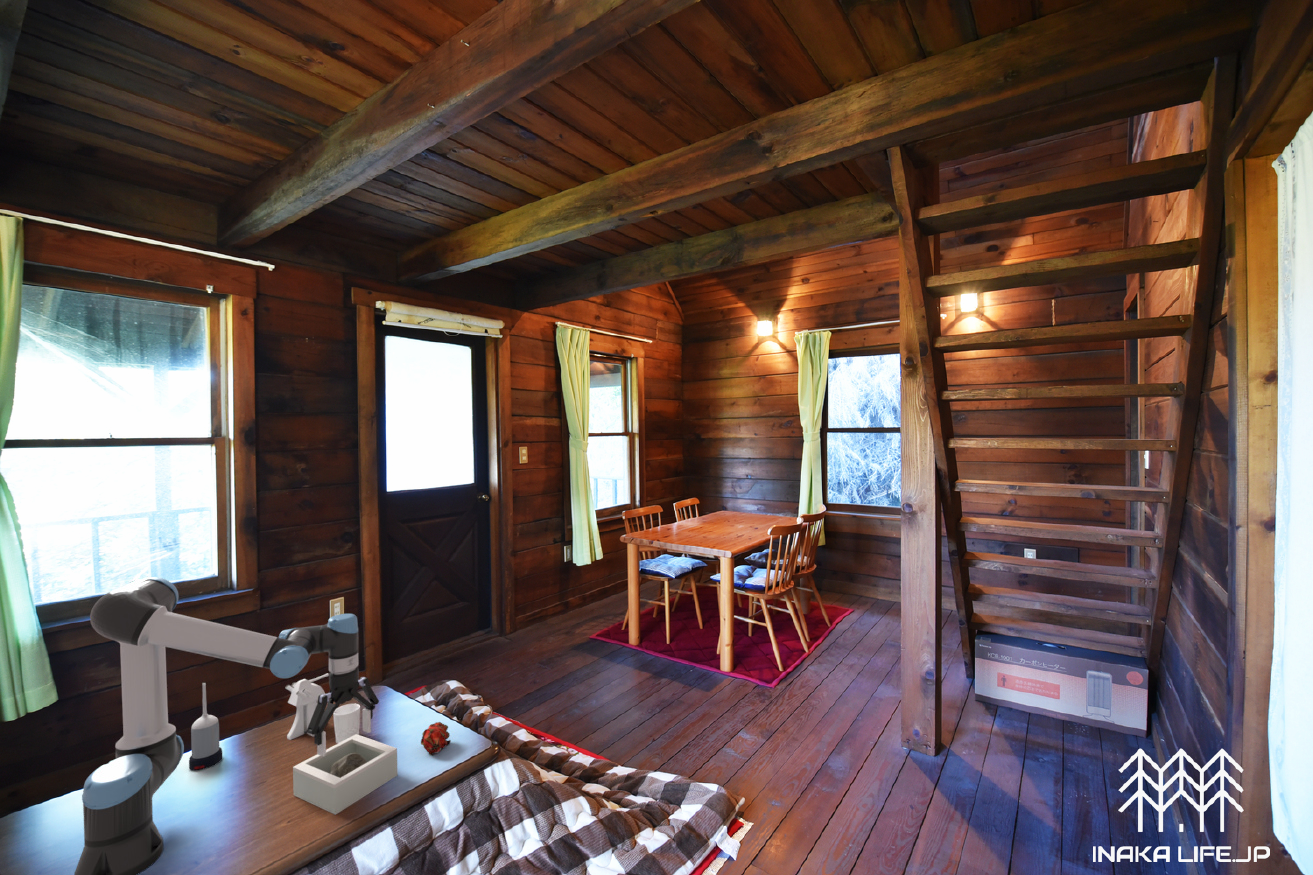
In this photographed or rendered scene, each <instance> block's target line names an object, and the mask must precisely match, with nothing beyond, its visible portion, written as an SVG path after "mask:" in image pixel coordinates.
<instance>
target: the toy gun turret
mask: <svg viewBox="0 0 1313 875" xmlns="http://www.w3.org/2000/svg"><path fill="white" fill-rule="evenodd" d="M325 677H329V673H325V674H323V675H321V676H317V677H316V678H315V677H314V678H312V679H306V678H303V679H300V680H298V681H297V682H292V684H291V685H290V684H287V685H286V686H285V689H286V690H288V691H289V692H290V693H291V694H290V697H289V699H288V701H287V703H288V704H290V705H292V706H295V707H296V713H295V718H294V721H293V723H292V725H291V728H290V730H289V731H288V733H287V735H286V738H287V740H290V741H291V740H293V739H296V738H298V737H301V736H303V735H305V734H307V735H308V736H310V737H314V735H312V734H310V733H307V728H308V726H309V723H310V721H311V718H312V716H313V713H314V711H315V708H316V706H317V703H318V696H319V695H320V694H323V695H324V694H326V693H325V690H324V688H323V687H322V686H321V685H318V684H316V683H314V682H315V681H318V680H320V679H324V678H325Z"/></svg>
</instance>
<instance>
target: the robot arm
mask: <svg viewBox="0 0 1313 875" xmlns="http://www.w3.org/2000/svg"><path fill="white" fill-rule="evenodd" d="M178 603H179V591H178V589H177V587H176V585H175V584H173V583H172V582H171V581H169V580H167V579H165V578H162V577H157V576H155V577H153V576H151V577H150V576H149V577H148V576H147V577H143V578H139V579H135V580H133V581H130V582H128V583H127V584H126V585H123V586H121V587H119V588H116V589H114V590H111V591H109V592H107V593H106V594H104V595H103V596H102V597H100V598H99V599H98V600H97V601H96V602H95V604H94V605H93V607H92V609H91V611H90V616H89V619H90V624H91V627H92V628H93V630H94V631H95V632H96V633H97V634H99V635H100V636H102V637H104V638H106V639H109V640H112V641H115V642H117V643H119V645H120V647H119V648H120V674H121V676H120V677H121V678H120V679H121V702H122V707H121V708H122V725H123V726H122V728H123V730H122V731H123V733H122V734H123V735H122V736H121V737H120V739H119V740H117V741H116V742H115V746H114V747H115V759H113V760H110V761H109V762H108V763H106V764H103V765H100V766H99V767H98V768H96V769H95V770H94V771H93V772H92V773H91V774H89V776H88V777H87V778H86V780H85V781H84V785H83V791H82V795H81V800H82V806H83V807H82V808H83V809H82V810H83V812H82V813H83V837H84V844H83V845H84V846H83V850H82V852H81V853H80V857H79V860H78V862H77V865H76V867H75V871H74V874H73V875H137V874H138V873H139V874H141V873H142V872H144V871H146V870H147V869H148V868H149V866H150V867H151V866H152V865H153V864H154V863H156V861H158V859H159V858H160V857H161V855H162V854H163V851H164V840H163V837H162V835H161V833H160V831H159V830H158V828H157V826H156V824H155V821H154V818H153V816H154V815H153V797H154V795H155V793H156V792H157V791H158V790H159V789H160V787H161V786H162V785H163V784H164V783H165V782H166V780H167V779H168V778H169V777H170V776H171V775H172V774H173V773H174V772H175V770H177V768H178V766H179V764H180V763H181V762H180V761H181V760H182V757H183V755H184V752H185V745H184V741H183V739H182V736H180V735H177V728H176V726H175V725H174V724H172V723H169V714H168V713H169V709H168V688H167V687H168V684H167V682H168V681H167V657H166V656H167V654H166V648H171V649H174V650H179V651H184V652H189V653H193V654H199V655H202V656H207V657H213V658H217V659H221V660H226V661H230V662H236V663H240V664H246V665H250V666H255V667H258V668H264V669H267V670H268V669H269V670H270V671H271V673H272V674H273V676H275V677H277V678H279V679H289V678H292V677H294V676H296V675H298V674H299V673H300V672H301V671H302V670H303V669H304V667H305V666H306V665H307V664H308V661H309V659H310V657H311V656H312V655H314V654H321V653H326V652H327V653H328V671H329V673H328V674H329V676H328V686H329V692H328V693H327V692H326V693H325V694H324V695H323V694H320V695H319V696H318V700H317V706H316V708H315V711H314V713H313V716H312V718H311V721H310V723H309V726H308V728H307V733H310V734H312V735H314V739H313V740H314V745H316V748H317V749H316V751H317V752H316V755H317V754H318V755H321V756H325V755H326V750H327V739H326V736H327V733H326V731H324V730H325V728H326V726H327V725H328V723H329V722H330V720H331V718H332V717H333V713H334V711H335V710H336V709H337V708H338V707H340V705H343V704H345V703H347V702H349V701H353V700H352V699H354V700H355V701H356V702H358V704H359V705H360V704H361V705H362V706H363V707H364V708H362V709H361V710H362V712H361V713H362V731H363V732H364V733H368V734H369V733H371V732H372V722H371V720H372V719H373V715H374V714H373V713H374V712H373V710H375V709H376V705H379V703H380V700H379V699H378V697H377V696H376V694H375V692H374V691H373V689H372V686H371V685H370V681H369V680H370V679H369V678H368V677H365V676H361V677H360V671H359V670H360V669H359V626H358V625H359V624H358V616H356V615H355V614H354V613H340V614H336V615H332V616H331V617H329V619H328V620H327V621H328V622H327V623H325V624H322V625H321V624H320V625H311V626H305V627H304V626H303V627H293V628H289V629H284V630H282V631H281V632H280V633H279V636H278V637H277V636H275V635H274V636H273V635H270V634H269V635H268V634H264V633H260V632H256V631H254V630H253V631H252V630H249V629H244V628H239V627H235V626H232V625H231V626H230V625H226V624H223V623H219V622H215V621H214V622H213V621H209V620H207V619H206V620H205V619H201V618H196V617H192V616H189V615H188V616H187V615H184V614H179V613H175V612H173V610H174V609H175V608H176V606H177V604H178ZM359 687H360V688H361V689H362V691H363V692H364V695H366V697H367V698H365V697H364V696H362V695H361V693H360V692H358V691H357V690H358V689H359ZM146 868H147V869H146ZM140 872H141V873H140ZM139 874H138V875H139Z"/></svg>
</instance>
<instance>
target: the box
mask: <svg viewBox="0 0 1313 875" xmlns="http://www.w3.org/2000/svg"><path fill="white" fill-rule="evenodd" d="M351 753H358V754H360V755H361V756H362V757H363V758H365V760H366V762H367V763H365V764H364V765H362V766H360V767H358V768H357V769H355V770H353V771H352V772H350V773H348V774H346V775H345V776H343V777H341V778H339V777H336V776H334V775H332V774H330V771H331V768H332V766H333V764H334V763H335V762H337V761H339V760H340V759H341V758H343V757H344V756H346V755H349V754H351ZM398 770H399V769H398V748H397V747H394V746H391V745H388V744H385V743H383V742H380V741H377V740H374V739H371V738H369V737H365V736H362V735H360V734H359V735H357V734H355V735H354V736H352V737H350V738H348V739H346V740H344V741H342V742H340V743H336V744H335V745H333V746H330V747H329V748H326V755H325V756H321V755H318V754H317V753H316V754H315V755H313V756H311V757H309V758H308V759H307V758H306V760H303V761H302V762H300V763H298V764H296V765H294V766H292V784H293V789H292V790H293V796H294V797H297V798H298V799H301V800H303V801H306V802H308V803H309V804H311V805H314V806H315V807H318V808H320V809H322V810H324V811H327V812H329V813H330V814H333V815H337V814H339V813H341V812H342V811H344V810H346V809H347V808H348V807H350V806H352V805H353V804H355V803H356V802H358V801H359V800H361V799H362V798H364V797H366V796H367V795H369V794H370V793H372V792H374V791H375V790H377V789H378V788H380V787H382V786H383V785H385V784H386V783H388V782H389V781H391V780H392V779H394V778H396V777H398V775H399V774H398Z"/></svg>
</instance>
